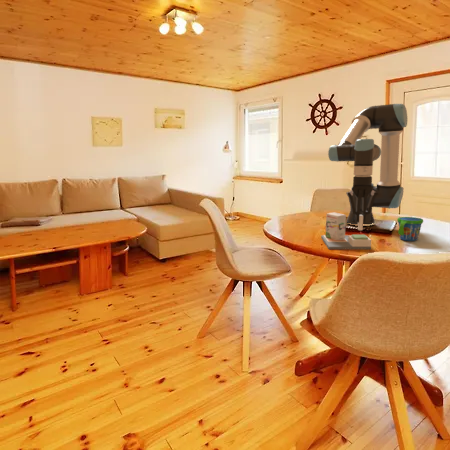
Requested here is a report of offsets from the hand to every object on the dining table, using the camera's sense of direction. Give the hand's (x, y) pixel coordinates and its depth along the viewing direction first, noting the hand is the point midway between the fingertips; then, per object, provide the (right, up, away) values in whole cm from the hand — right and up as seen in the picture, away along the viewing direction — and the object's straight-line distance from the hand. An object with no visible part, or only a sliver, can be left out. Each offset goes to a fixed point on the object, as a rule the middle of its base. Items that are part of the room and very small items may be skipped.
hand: (359, 229), depth 158 cm
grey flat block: (-4, -6, +9) cm, 12 cm away
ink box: (-7, -5, +13) cm, 15 cm away
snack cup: (+28, -5, +12) cm, 30 cm away
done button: (0, -5, +1) cm, 5 cm away
